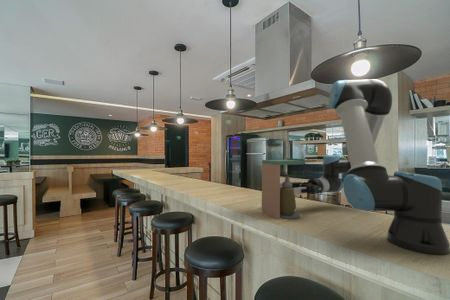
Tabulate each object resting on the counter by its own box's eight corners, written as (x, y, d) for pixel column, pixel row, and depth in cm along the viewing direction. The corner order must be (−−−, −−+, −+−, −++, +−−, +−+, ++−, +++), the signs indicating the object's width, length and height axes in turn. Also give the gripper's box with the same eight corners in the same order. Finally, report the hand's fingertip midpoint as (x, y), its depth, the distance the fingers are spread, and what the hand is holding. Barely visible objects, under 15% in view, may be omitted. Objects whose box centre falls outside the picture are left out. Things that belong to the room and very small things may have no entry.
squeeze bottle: (297, 217, 97) (297, 176, 97) (278, 215, 99) (278, 176, 99) (294, 212, 105) (295, 174, 105) (277, 211, 107) (278, 174, 107)
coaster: (306, 217, 99) (306, 216, 99) (285, 220, 94) (285, 219, 94) (288, 210, 110) (288, 209, 110) (268, 213, 105) (268, 212, 105)
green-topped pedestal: (304, 215, 102) (304, 159, 103) (276, 219, 96) (277, 159, 96) (287, 208, 113) (287, 158, 114) (261, 212, 107) (262, 158, 107)
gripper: (339, 198, 99) (304, 202, 90) (299, 189, 122) (268, 192, 113) (339, 181, 99) (304, 184, 90) (299, 175, 122) (268, 177, 113)
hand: (284, 188), depth 101 cm, fingers open, 13 cm apart
